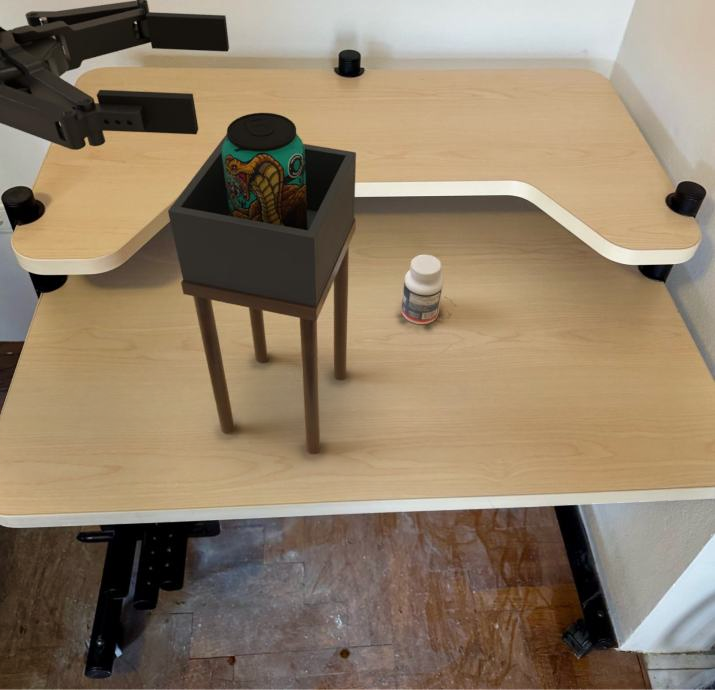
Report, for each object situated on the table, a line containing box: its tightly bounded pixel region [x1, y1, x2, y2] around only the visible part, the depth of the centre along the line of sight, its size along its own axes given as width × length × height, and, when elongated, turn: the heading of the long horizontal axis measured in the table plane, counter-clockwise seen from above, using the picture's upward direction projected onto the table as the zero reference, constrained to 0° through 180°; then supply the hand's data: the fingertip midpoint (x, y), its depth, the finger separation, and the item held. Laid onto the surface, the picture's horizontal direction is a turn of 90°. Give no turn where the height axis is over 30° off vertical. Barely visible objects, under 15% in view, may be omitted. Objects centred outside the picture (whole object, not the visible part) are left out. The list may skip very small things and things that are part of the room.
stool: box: [180, 217, 357, 455], centre depth 74 cm, size 14×13×24 cm
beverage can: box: [222, 112, 308, 230], centre depth 60 cm, size 7×7×12 cm
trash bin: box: [167, 133, 357, 307], centre depth 62 cm, size 13×13×8 cm
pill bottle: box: [401, 254, 444, 325], centre depth 91 cm, size 5×5×9 cm
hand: (212, 70), depth 52 cm, fingers open, 13 cm apart
